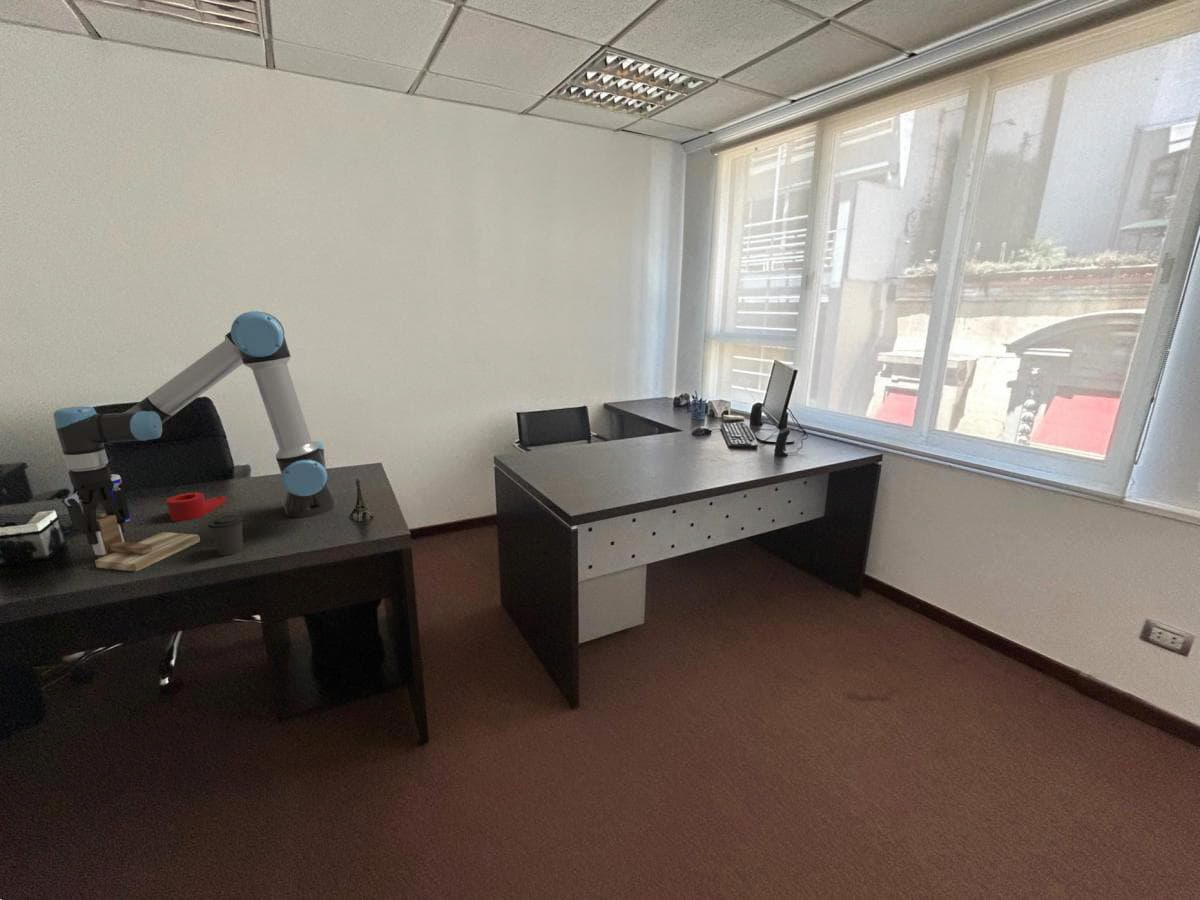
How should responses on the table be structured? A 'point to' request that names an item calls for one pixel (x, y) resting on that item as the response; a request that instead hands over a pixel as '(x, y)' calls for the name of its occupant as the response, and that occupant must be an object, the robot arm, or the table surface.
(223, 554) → the coffee cup
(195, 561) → the table surface
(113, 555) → the board
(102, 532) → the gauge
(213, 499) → the lever
